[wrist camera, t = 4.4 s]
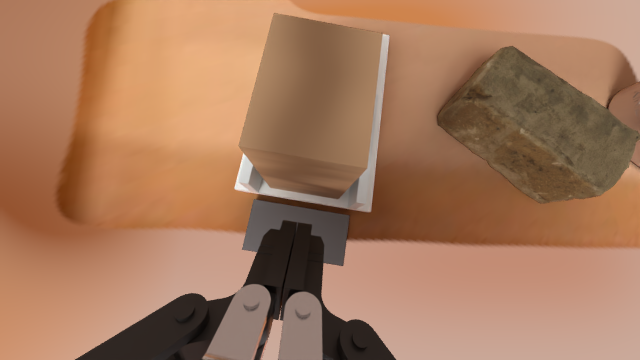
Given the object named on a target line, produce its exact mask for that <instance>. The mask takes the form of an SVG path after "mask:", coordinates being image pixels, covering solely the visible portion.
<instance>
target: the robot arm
mask: <svg viewBox="0 0 640 360" xmlns="http://www.w3.org/2000/svg"><path fill="white" fill-rule="evenodd" d="M609 111H610V112H611V113H612V114H613V115H614V116H615V117H616V118H618V119H619V120H620V121H621V122H622V123H624V124H625V125H627V126H628V127H630V128H632V129H634V130H636V131H638V133H639V134H640V82H638V83H635V84H633V85H631V86H629V87H627V88H625V89H623V90H621V91H619V92H618V93H617V94H616V95H615V96H614V97H613V99H612V100H611V102H610V105H609ZM631 161H632V162H633V163H635V164H636V165H637V166H639V167H640V140H639V141H637V142H636V146H635V151H634V154H633V156H632V159H631ZM296 229H297V230H296ZM311 230H312V224H306V223H300V222H298V226H297V222H294V221H288V220H283V221H282V224H281V228H280V230H277V229H270V230H269V231H268V232H267V233H266V234H265V235H264V236H263V238H262V241H261V243H260V246H259V248H258V251H257V254H256V256H255V259H254V261H253V264H252V267H251V269H250V272H249V274H248V277H247V279H246V282H245V284H244V285H243V287H242V288H241V289H240V290H239V291H238V292H237V293H235V294H234V295H232V296H229V297H226V298H222V299H216V300H211V301H206V299H205V298H204V297H203V296H202V295H199V294H194V293H191V294H185V295H183V296H180V297H178V298H176V299H175V300H173V301H171V302H170V303H168V304H167V305H165V306H163V307H162V308H160V309H158V310H157V311H155V312H153V313H152V314H150V315H148V316H147V317H145V318H144V319H142V320H140V321H139V322H137V323H135V324H133V325H132V326H130V327H129V328H127V329H125V330H124V331H122V332H120V333H119V334H117V335H115V336H114V337H112V338H110V339H109V340H107V341H105V342H104V343H102V344H100V345H99V346H97V347H95V348H94V349H92V350H90V351H89V352H87V353H85V354H84V355H82V356H80V357H79V358H77V359H75V360H262V357H263V354H264V350H265V347H266V344H267V340H268V337H269V334H270V330H271V326H272V322H273V319H276V320H278V319H279V314H280V310H281V316H280V320H283V326H282V334H281V341H280V350H279V358H278V360H396V359H395V358H394V356H393V355H392V354H391V352H390V351H389V350H388V348H387V347H386V346H385V344H384V343H383V342H382V340H381V339H380V338H379V336H378V335H377V334H376V332H375V331H374V330H373V328H372V327H371V326H369V324H367V323H366V322H364V321H361V320H356V319H355V320H350V321H348V322H346V321H344V320H342V319H340V318H338V317H336V316H335V315H333V314H332V313H330V312H329V311H328V310H327V308H326V307H325V306H324V304H323V301H322V297H321V290H322V275H323V260H324V243H323V240H322V238H321V236H314V235H311ZM281 306H282V307H281Z"/></svg>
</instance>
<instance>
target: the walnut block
mask: <svg viewBox="0 0 640 360" xmlns="http://www.w3.org/2000/svg"><path fill="white" fill-rule="evenodd" d="M382 36H383V33H378V32H373V31H368V30H362V29H357V28H352V27H346V26H341V25H336V24H330V23H325V22H320V21H314V20H309V19H304V18H298V17H293V16H288V15H282V14H277V13H274V15H273V18H272V22H271V26H270V30H269V33H268V37H267V41H266V45H265V48H264V52H263V56H262V60H261V63H260V67H259V71H258V75H257V78H256V82H255V86H254V90H253V93H252V97H251V101H250V105H249V108H248V112H247V116H246V120H245V123H244V127H243V131H242V135H241V138H240V142H239V147H240V149H241V150H242V151H243V153H244V154H245V155H246V157H247V158H248V159H249V161H250V162H251V163H252V164H253V166H254V167H255V168H256V170H257V171H258V172H259V174H260V175H261V176H262V178H263V179H264V180H265V182H266V183H267V184H268V185H269V187H270V188H274V189H280V190H286V191H292V192H297V193H303V194H309V195H315V196H321V197H327V198H333V199H339V198H340V197H341V196H342V195H343V194H344V193H345V192H346V191H347V189H348V188H349V187H350V186H351V185H352V184H353V183H354V182H355V181H356V180H357V179H358V178H359V177H360V176H361V175H362V174H363V172H364V171H365V170H366V169H367V167H368V158H369V149H370V141H371V132H372V123H373V114H374V106H375V97H376V88H377V79H378V71H379V62H380V53H381V44H382Z"/></svg>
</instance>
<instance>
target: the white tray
mask: <svg viewBox="0 0 640 360" xmlns="http://www.w3.org/2000/svg"><path fill="white" fill-rule="evenodd" d="M389 36H390V35H385V34H383V36H382V44H381V53H380V62H379V71H378V79H377V88H376V97H375V106H374V114H373V123H372V132H371V141H370V149H369V158H368V167H367V169H366V170H365V171H364V172H363V174H362V175H361V176H360V177H359V178H358V179H357V180H356V181H355V182H354V183H353V184H352V185H351V186H350V187H349V188H348V189H347V191H346V192H345V193H344V194H343V195H342V196H341V197H340V198H339V199H333V198H327V197H321V196H315V195H309V194H303V193H297V192H292V191H286V190H280V189H274V188H270V187H269V185H268V184H267V183H266V182H265V180H264V179H263V178H262V176H261V175H260V174H259V172H258V171H257V170H256V168H255V167H254V166H253V164H252V163H251V162H250V161H249V159H248V158H247V157H246V155H245V154H243V158H242V161H241V165H240V169H239V173H238V177H237V181H236V185H235V188H234V189H236V190H238V191H244V192H250V193H255V194H261V195H267V196H273V197H279V198H285V199H291V200H297V201H303V202H309V203H315V204H321V205H327V206H332V207H338V208H344V209H350V210H356V211H362V212H368V213H369V212H371V207H372V198H373V188H374V179H375V169H376V160H377V150H378V141H379V131H380V121H381V112H382V102H383V93H384V83H385V74H386V64H387V55H388V45H389ZM349 216H350V215H344V214H338V213H332V212H326V211H320V210H314V209H309V208H303V207H297V206H291V205H285V204H279V203H273V202H267V201H261V200H255V199H254V201H253V205H252V209H251V214H250V218H249V222H248V226H247V231H246V235H245V239H244V244H243V248H242V250H248V251H255V252H257V251H258V248H259V246H260V243H261V241H262V238H263V236H264V235H265V234H266V233H267V232H268V231H269V230H270V229H277V230H280V228H281V224H282V221H283V220H288V221H294V222H297V226H298V222H300V223H306V224H312V230H311V235H314V236H321V238H322V240H323V243H324V260H323V263H327V264H334V265H340V266H343V263H344V256H345V247H346V240H347V232H348V224H349ZM296 230H297V229H296Z"/></svg>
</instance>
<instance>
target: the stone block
mask: <svg viewBox="0 0 640 360" xmlns="http://www.w3.org/2000/svg"><path fill="white" fill-rule="evenodd" d="M438 125H439V126H441V127H442V128H443V129H444V130H445V131H446V132H447V133H449V134H450V135H451V136H453V137H454V138H456V139H457V140H458V141H459V142H461V143H462V144H464V145H465V146H467V147H468V148H469V149H470V150H471V151H472V152H473V153H475V154H476V155H478V156H480V157H482V158H483V159H485V160H486V161H487V162H488V164H489V165H490V167H492V168H493V169H495V170H497V171H499V172H500V173H501V174H502V175H503V176H505V177H506V178H507V179H508V180H509V181H510V182H511V183H512V184H513V185H514V186H516V187H517V188H518V189H519V190H521V191H522V192H523V193H525V194H526V195H528V196H529V197H531V198H533V199H534V200H536V201H537V202H539V203H549V202H556V201H562V200H566V201H567V200H571V199H574V198H575V199H585V198H591V197H596V196H600V195H602V194H603V193H604V192H606V191H607V190H609V189H610V188H611V187H613V186H614V185H615V184H616V182H617V181H618V180H619V179H620V177H621V176H622V174H623V172H624V171H625V170H626V169H627V168H628V167H629V162H630V160H631V159H632V156H633V154H634V151H635V146H636V142H637V141H639V140H640V134H639V133H638V131H636V130H634V129H632V128H630V127H628V126H627V125H625V124H624V123H622V122H621V121H620V120H619V119H618V118H616V117H615V116H614V115H613V114H612V113H611V112H610V111H609V110H608V109H607V108H605V107H603V106H602V105H600V104H599V103H598V102H597V101H595V100H594V99H593V98H591V97H589V96H587V95H585V94H583V93H582V92H580V91H579V90H577V89H576V88H574V87H573V86H571V85H570V84H568V83H567V82H566V81H564V80H563V79H561V78H560V77H558V76H556V75H555V74H554V73H552V72H551V71H550V70H548V69H546V68H545V67H543V66H541V65H540V64H538V63H537V62H535V61H534V60H532V59H531V58H530V57H528V56H527V55H525V54H524V53H522V52H521V51H519V50H518V49H516V48H515V47H514V46H510V47H505V48H501V49H500V50H499V51H497V52H496V53H495V54H494V55H493V56H492V57H490V58H489V59H488V60H487V61H485V62H484V63H483V64H482V66H481V67H480V68H478V69H477V70H476V71H475V72H474V74H473V75H472V76H471V78H470V79H469V80H468V81H467V82H466V83H465V84H464V85H463V87H462V88H461V89H460V90H459V91H458V92H457V93H456V94H455V95H454V96H453V97H452V98H451V99H450V100H449V102H448V103H447V104H446V106H445V107H444V108H443V109H442V110H441V111H440V113H439V115H438Z"/></svg>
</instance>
